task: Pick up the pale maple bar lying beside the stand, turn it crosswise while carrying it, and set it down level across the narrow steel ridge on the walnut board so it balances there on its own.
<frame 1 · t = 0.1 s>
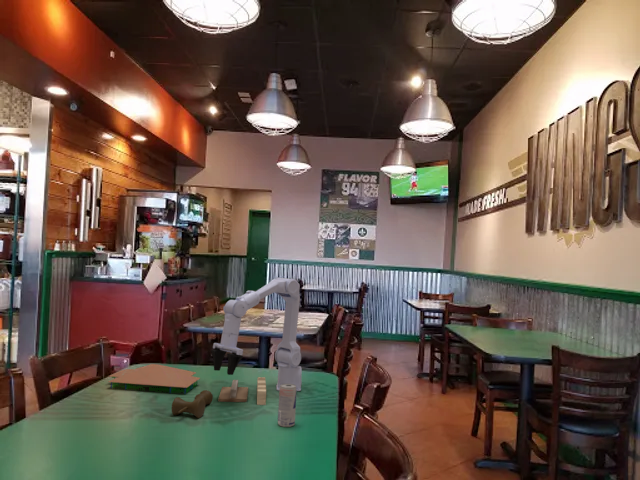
hand: (223, 372, 172), 11 cm above the table, tool pointing down, fingers open, 7 cm apart
brown flat slab: (156, 385, 192), on the table
maple bar: (261, 397, 182), on the table
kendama: (193, 413, 160), on the table
ridge stand: (233, 395, 182), on the table
energy drink: (286, 425, 153), on the table
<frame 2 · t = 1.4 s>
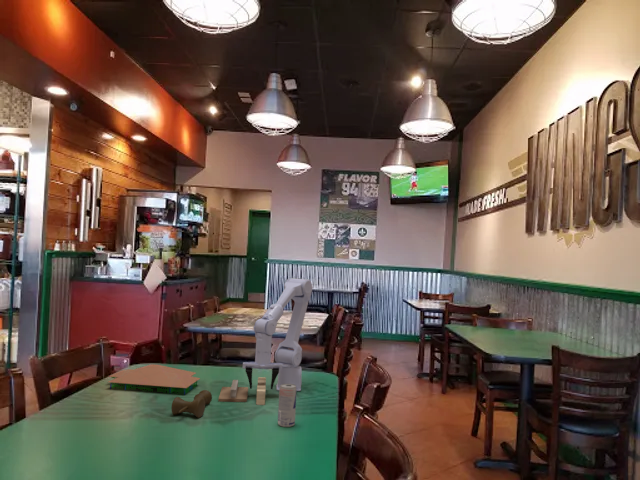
hand: (261, 388, 182), 3 cm above the table, tool pointing down, fingers open, 7 cm apart
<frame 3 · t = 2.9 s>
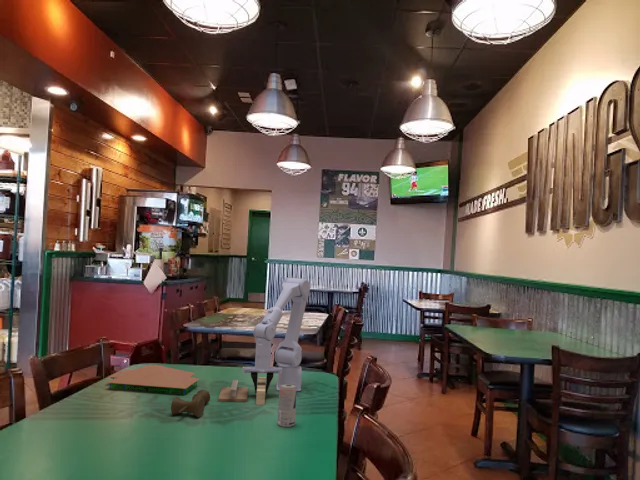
hand: (261, 392, 182), 1 cm above the table, tool pointing down, fingers closed on maple bar, 3 cm apart
maple bar: (261, 397, 182), on the table, touching gripper
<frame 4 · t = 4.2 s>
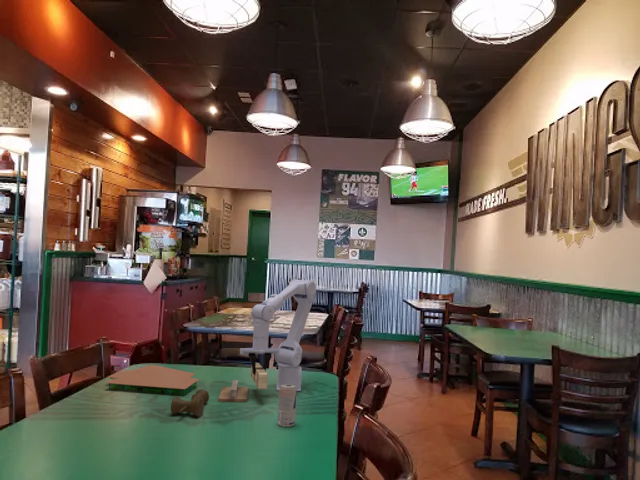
hand: (258, 373, 182), 8 cm above the table, tool pointing down, fingers closed on maple bar, 3 cm apart
maple bar: (258, 382, 182), point 5 cm above the table, touching gripper
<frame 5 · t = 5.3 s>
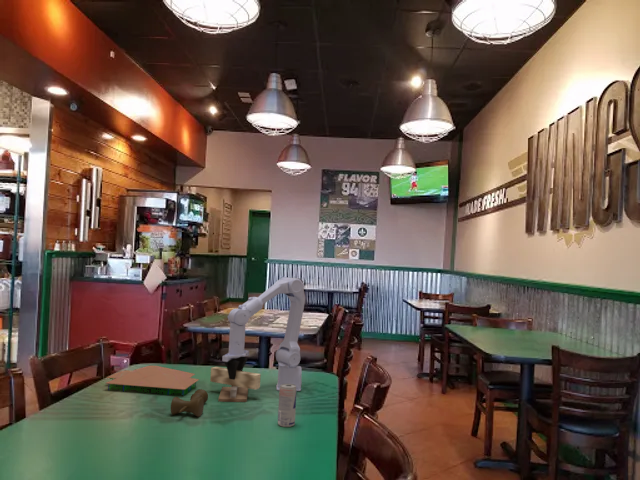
hand: (234, 378, 182), 6 cm above the table, tool pointing down, fingers closed on maple bar, 3 cm apart
maple bar: (234, 384, 182), point 4 cm above the table, touching gripper, ridge stand
when the fingers open (6 cm above the table, at t = 6.1 s): maple bar stays where it is, resting on ridge stand.
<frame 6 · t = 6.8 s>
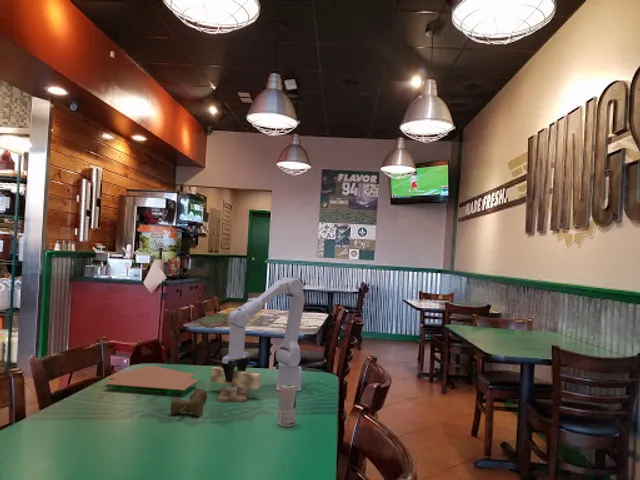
hand: (234, 379, 182), 6 cm above the table, tool pointing down, fingers open, 7 cm apart
maple bar: (234, 384, 182), point 4 cm above the table, touching ridge stand
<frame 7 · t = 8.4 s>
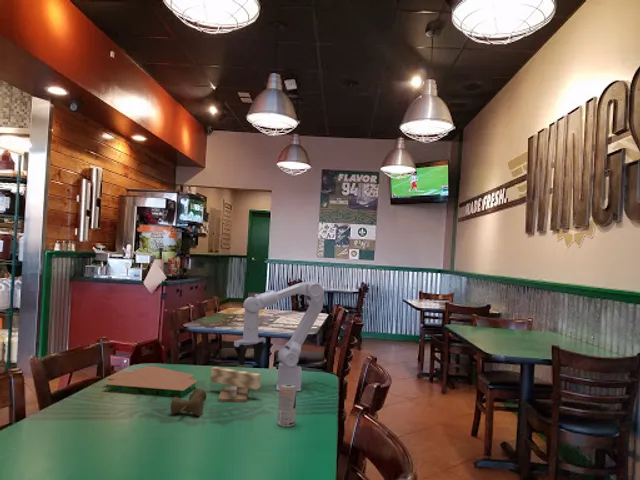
hand: (249, 363, 190), 10 cm above the table, tool pointing down, fingers open, 7 cm apart
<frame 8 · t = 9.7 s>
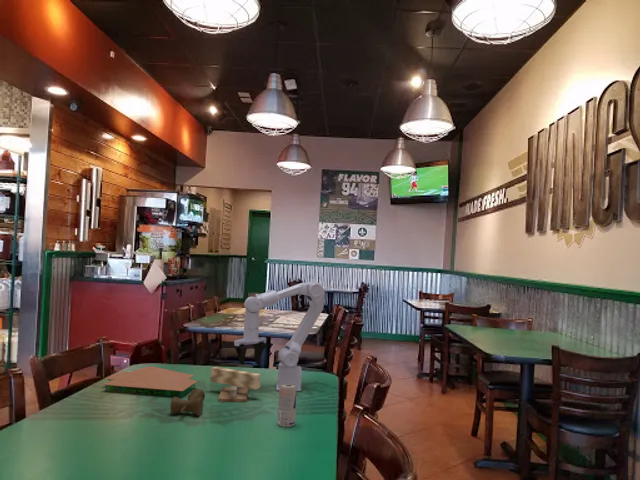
hand: (249, 362, 190), 10 cm above the table, tool pointing down, fingers open, 7 cm apart
at the end: maple bar 0.1 cm off-centre on the ridge stand, point 4.0 cm above the ridge stand's base; maple bar tilted 0°; maple bar touching ridge stand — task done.
